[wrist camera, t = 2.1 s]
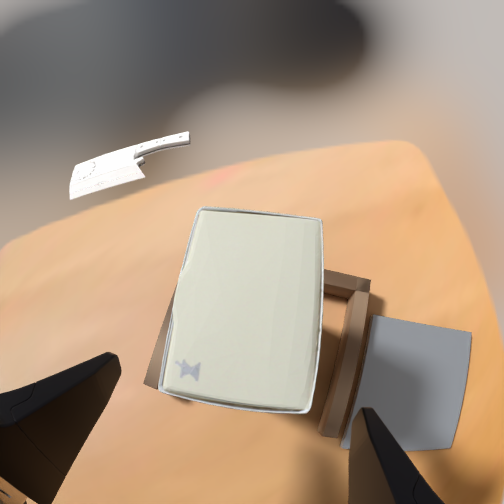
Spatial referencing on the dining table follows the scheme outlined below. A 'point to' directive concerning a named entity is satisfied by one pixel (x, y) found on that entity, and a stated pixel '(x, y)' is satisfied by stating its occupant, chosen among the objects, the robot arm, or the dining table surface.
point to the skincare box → (247, 312)
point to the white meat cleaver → (119, 165)
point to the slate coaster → (413, 381)
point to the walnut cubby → (346, 356)
